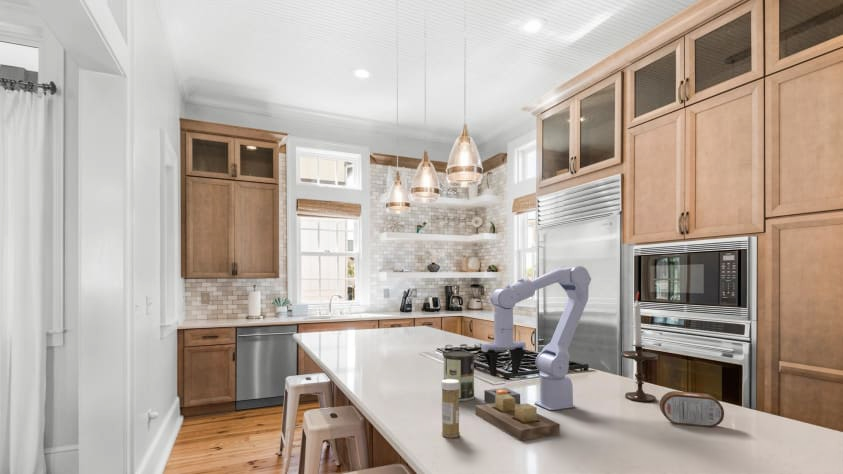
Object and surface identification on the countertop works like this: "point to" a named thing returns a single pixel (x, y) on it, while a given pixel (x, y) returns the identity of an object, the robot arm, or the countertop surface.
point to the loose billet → (504, 403)
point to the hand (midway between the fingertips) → (504, 374)
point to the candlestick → (639, 360)
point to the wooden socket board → (517, 423)
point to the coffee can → (460, 372)
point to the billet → (525, 413)
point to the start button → (501, 392)
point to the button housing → (490, 394)
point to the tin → (692, 409)
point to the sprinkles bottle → (450, 408)
